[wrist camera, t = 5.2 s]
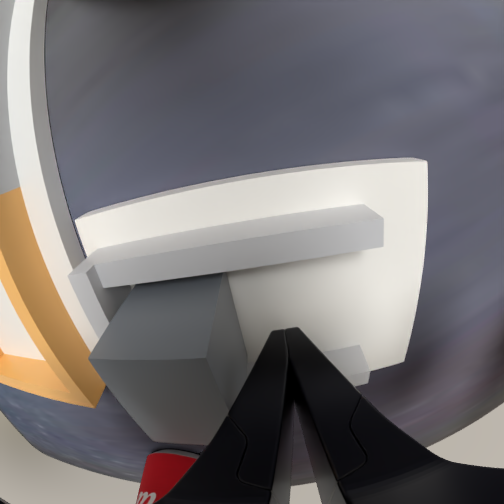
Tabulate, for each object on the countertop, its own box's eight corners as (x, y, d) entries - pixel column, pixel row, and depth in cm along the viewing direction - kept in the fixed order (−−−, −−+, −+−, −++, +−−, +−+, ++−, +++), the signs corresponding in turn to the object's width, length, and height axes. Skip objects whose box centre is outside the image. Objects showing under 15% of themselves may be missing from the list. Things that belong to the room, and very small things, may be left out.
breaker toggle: (224, 265, 9) (205, 357, 5) (247, 355, 10) (244, 444, 7) (140, 277, 9) (87, 358, 5) (176, 360, 10) (153, 441, 7)
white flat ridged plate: (412, 157, 8) (465, 171, 5) (396, 348, 12) (419, 392, 9) (88, 211, 9) (40, 241, 6) (161, 379, 13) (148, 425, 10)
